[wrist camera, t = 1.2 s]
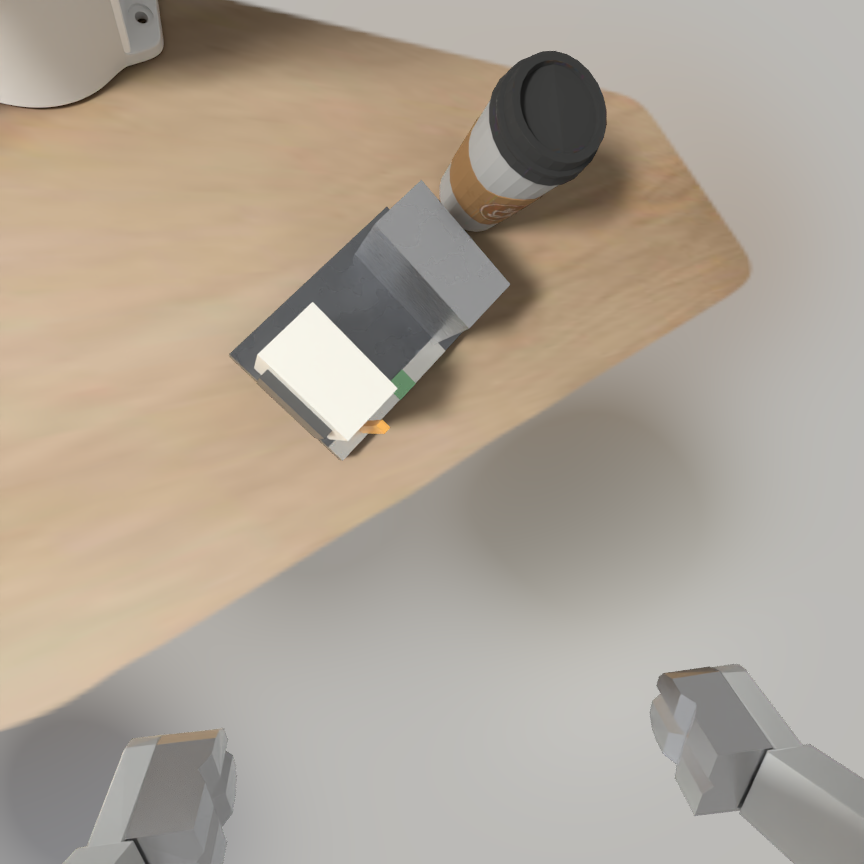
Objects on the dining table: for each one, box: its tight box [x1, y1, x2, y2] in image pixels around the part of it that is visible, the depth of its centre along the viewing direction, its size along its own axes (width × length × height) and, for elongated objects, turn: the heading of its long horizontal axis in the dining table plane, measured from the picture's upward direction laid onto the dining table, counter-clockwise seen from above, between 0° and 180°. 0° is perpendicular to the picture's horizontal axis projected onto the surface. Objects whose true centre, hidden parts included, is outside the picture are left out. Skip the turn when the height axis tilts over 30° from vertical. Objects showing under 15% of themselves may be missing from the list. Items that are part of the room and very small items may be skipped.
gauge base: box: [229, 180, 510, 461], centre depth 42 cm, size 18×12×8 cm, turn 137°
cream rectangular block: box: [254, 302, 398, 441], centre depth 40 cm, size 6×10×8 cm, turn 47°
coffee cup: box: [440, 51, 607, 232], centre depth 43 cm, size 8×8×15 cm
